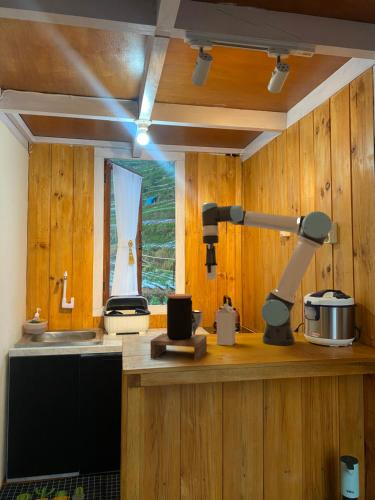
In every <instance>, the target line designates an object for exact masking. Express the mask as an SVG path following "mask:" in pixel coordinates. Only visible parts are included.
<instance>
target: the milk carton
mask: <svg viewBox="0 0 375 500" xmlns="http://www.w3.org/2000/svg"><path fill="white" fill-rule="evenodd" d="M235 343H236V311H235V310H234V307H232V306H230V305H229V303H228V302H227V303H225V304H224V303H223V307H222V308H220V309H219V311H217V312H216V345H217V346H218V345H220V346H231V347H232V346H233V345H234V344H235Z"/></svg>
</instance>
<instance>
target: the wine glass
mask: <svg viewBox="0 0 375 500" xmlns="http://www.w3.org/2000/svg"><path fill="white" fill-rule="evenodd" d="M202 321H203V311H200V310H192V335H196V331H197V330H198V329H199V327H200V325H201V324H202Z"/></svg>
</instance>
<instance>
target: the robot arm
mask: <svg viewBox="0 0 375 500" xmlns="http://www.w3.org/2000/svg"><path fill="white" fill-rule="evenodd" d="M201 218H202V219H201V221H202V223H201V224H202V228H201V231H202V235H203V236H202V243H203V244H205V245H206V253H205V264H204V266H205V267H206V281H213V280H217V266H218V263H217V257H216V246H215V244H218V243H219V223H230V224H232V225H234V226H245V227H252V228H259V229H267V230H273V231H278V232H279V231H281V232H285V233H286V232H287V233H294V234H295V235H296V237H297V243H296V245H295V247H294V250H292V251H293V252H292V253H291V256H290V258H289V260H288V263H287V264H286V266H285V267H284V270H283V273H282V275H281V277H280V279H279V280H278V283H277V286H276V287H275V289H272V290H270V292H269V294H266V295H265V302H264V304H263V305H262V307H261V312H260V313H261V317H262V319H263V320H264V322H265V323H266V324H265V328H264V331H263V335H262V343H263V344H268V345H274V346H290V345H293V344H295V339H296V338H295V335H294V333H293V330H292V326H291V325H292V321H291V319H292V318H291V314H292V313H291V312H292V310H293V307H294V306H295V303H296V301H295V299H294V298H295V296H296V293H297V291H298V289H299V287H300V285H301V283H302V281H303V279H304V277H305V275H306V272H307V271H308V268H309V267H310V264H311V262H312V260H313V258H314V256H315V253H316V251H317V250H318V249H319V248H322V247H323V246H324V244H325V242H326V239H327V238H328V235H329V234H330V232H331V230H332V225H333V222H332V219H331V218H330V217H329V216H328V214H326V213H325V212H323V211H317V210H315V211H312V212H309V213H308V214H306V215H299V216H297V217H296V216H290V215H289V216H288V215H281V214H275V213H266V212H257V211H250V210H244V209H243V206H242V205H239V204H237V205H236V204H234V205H226V206H218V203H216V202H205V203H203V204H202V206H201Z"/></svg>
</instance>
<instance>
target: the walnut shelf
mask: <svg viewBox="0 0 375 500" xmlns="http://www.w3.org/2000/svg"><path fill="white" fill-rule="evenodd" d="M207 338H208V336H207V335H205V334H195V335H193V334H192V336H191V338H190V339H187V340H172V339H169V338H168V336H167V332H165V333H161V334H159V335H158V336H156V337H153V338H152V339H150V355H149V356H150V359H154V358H156V357H158V356H159V355H161V354H162V353H163V352H165V351H166V350H167V346H172V347H190V348H191V347H192V348H194V349H193V350H194V356H193V357H194V361H195V362H199V361H201V359H202V358H203V357H204V355H205V354H206V353H207V349H208V348H207V347H208V345H207V343H208V342H207Z"/></svg>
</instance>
